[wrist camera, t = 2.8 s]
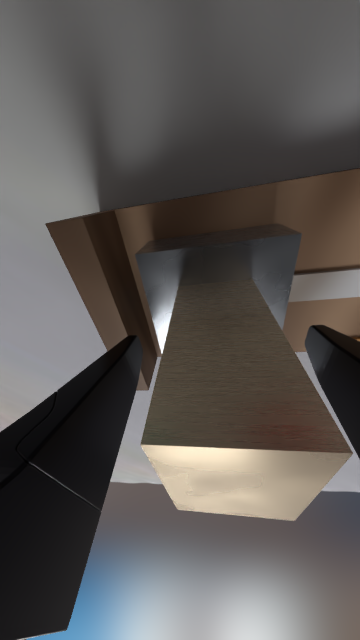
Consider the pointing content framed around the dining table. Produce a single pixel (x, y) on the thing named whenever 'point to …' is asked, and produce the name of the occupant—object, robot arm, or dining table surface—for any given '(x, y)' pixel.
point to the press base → (212, 216)
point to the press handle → (233, 378)
